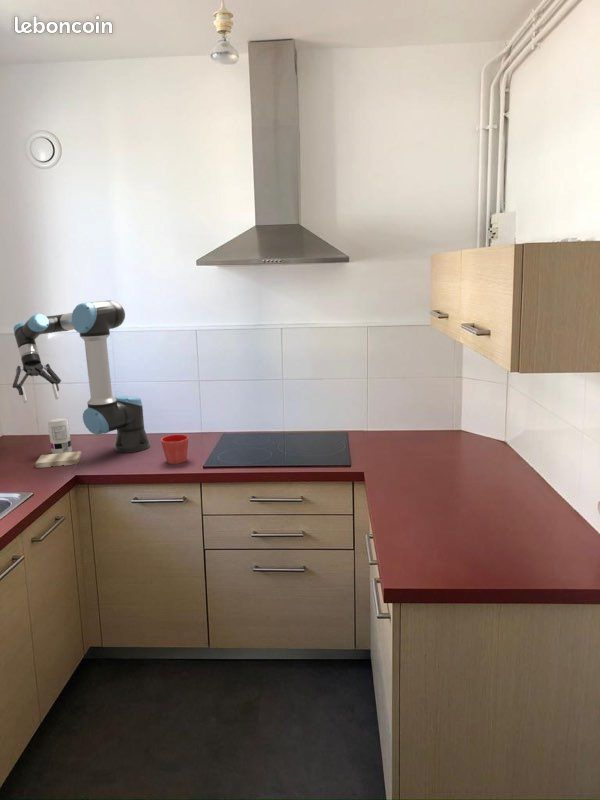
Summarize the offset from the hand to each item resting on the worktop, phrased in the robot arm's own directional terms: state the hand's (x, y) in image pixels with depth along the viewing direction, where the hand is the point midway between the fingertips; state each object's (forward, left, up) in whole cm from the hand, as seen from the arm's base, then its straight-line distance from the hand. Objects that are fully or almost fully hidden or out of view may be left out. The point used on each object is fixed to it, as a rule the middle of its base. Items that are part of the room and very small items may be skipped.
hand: (41, 399), depth 270 cm
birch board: (-8, +19, -23) cm, 31 cm away
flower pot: (-56, +34, -23) cm, 69 cm away
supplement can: (-7, +6, -23) cm, 25 cm away
